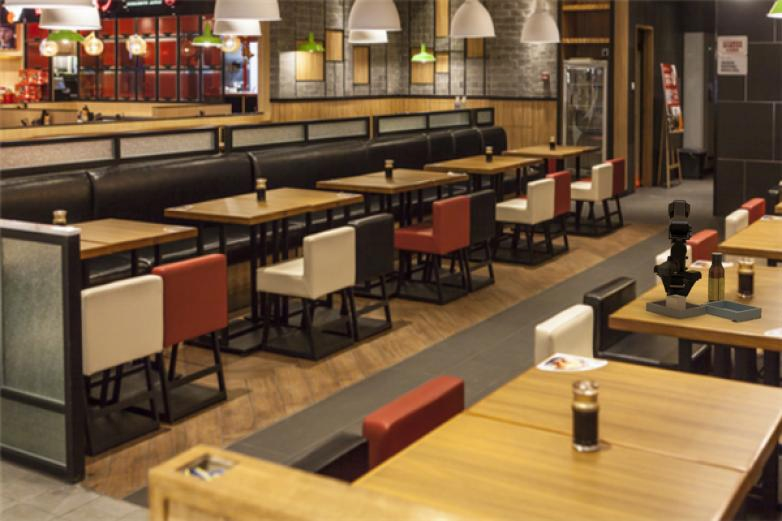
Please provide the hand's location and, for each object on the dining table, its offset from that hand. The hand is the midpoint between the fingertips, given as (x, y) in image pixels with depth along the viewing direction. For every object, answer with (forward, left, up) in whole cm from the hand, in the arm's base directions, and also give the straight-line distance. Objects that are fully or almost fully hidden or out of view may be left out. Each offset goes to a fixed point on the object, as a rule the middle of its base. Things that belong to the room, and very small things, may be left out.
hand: (676, 294), depth 377 cm
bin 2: (+13, +15, -7) cm, 21 cm away
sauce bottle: (-4, +27, -8) cm, 28 cm away
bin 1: (0, 0, -7) cm, 7 cm away
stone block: (0, 0, -7) cm, 7 cm away
